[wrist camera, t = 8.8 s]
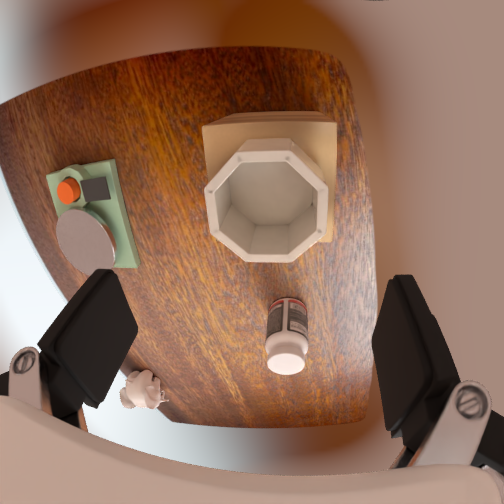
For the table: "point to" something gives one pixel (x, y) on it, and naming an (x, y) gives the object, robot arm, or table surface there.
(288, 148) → the bowl
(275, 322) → the pill bottle
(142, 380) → the elephant figurine
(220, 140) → the stand
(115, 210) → the scale
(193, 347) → the table surface
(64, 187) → the tare button
